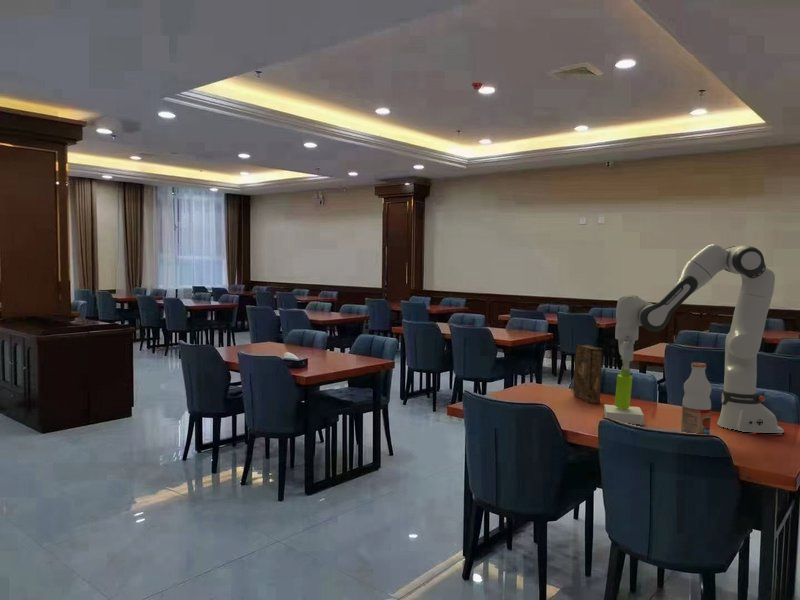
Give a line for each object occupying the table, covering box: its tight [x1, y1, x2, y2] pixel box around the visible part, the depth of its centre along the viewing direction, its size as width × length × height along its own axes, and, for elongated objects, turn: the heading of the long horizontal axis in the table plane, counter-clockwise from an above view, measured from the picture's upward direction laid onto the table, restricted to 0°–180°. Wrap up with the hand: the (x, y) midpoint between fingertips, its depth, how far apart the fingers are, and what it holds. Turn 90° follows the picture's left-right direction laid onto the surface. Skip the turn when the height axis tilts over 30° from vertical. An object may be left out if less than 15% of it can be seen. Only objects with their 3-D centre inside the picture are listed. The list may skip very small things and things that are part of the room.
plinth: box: [603, 403, 645, 426], centre depth 244 cm, size 14×14×4 cm
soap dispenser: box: [614, 357, 634, 409], centre depth 244 cm, size 6×7×20 cm
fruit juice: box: [680, 361, 712, 435], centre depth 217 cm, size 9×9×28 cm
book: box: [573, 344, 603, 404], centre depth 278 cm, size 16×6×25 cm, turn 10°
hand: (625, 368), depth 243 cm, fingers closed on soap dispenser, 4 cm apart
